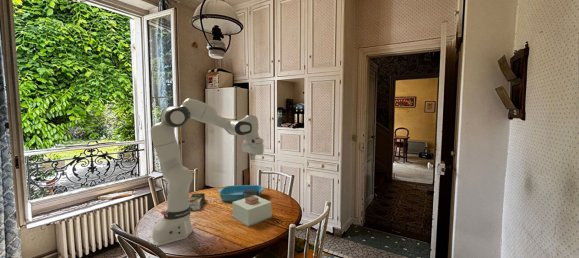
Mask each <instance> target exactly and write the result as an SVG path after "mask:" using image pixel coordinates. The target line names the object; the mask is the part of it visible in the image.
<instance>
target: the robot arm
mask: <svg viewBox="0 0 579 258" xmlns="http://www.w3.org/2000/svg"><path fill="white" fill-rule="evenodd" d="M181 103H182V104H181V105H180V106H173V105H172V106H166V107H165V108H164V109H162V111H161V113H160V118H159V121H158V122H157V123H155V124H153V125H152V126H151V127H150V136H151V137H150V138H151V141H152V144H153V146H154V149H155V152H156V154H157V157H158V160H159V161H158V162H159V165H160V171H161V173H162V177H163V179H164V180H165V181H166V182H168V185H169V188H168V194H167V195H166V201H167V203H166V204H167V205H166V206H167V207H166V208H167V209H166V210H164V209H163V210H161V212H160V214H161V215H162V216H163V218H161V219H160V221H159V222H157V223H156V224H154V226H153V229H152V234H149V235H148V237H147V241H148V243H149V242H150V243H152V244H154V245H156V246H155V247H160V246H163V245H167V244H170V243H173V242H178V241H181V240H185V239H188V237H189V235H190V234H192V232H194V228H193V225H192V222H191V210H190V206H189V199H190V197H189V196H190V195H189V194H190V187H191V183H192V182H193V179H194V175H193V173H192V171H191V170H190V169H189V168H188V167H186V166H184V165H183V163H182V158H181V154H182V153H181V149H180V147H179V146H180V145H179V143H178V141H177V138H176V135H175V128H181V127H182V126H184V125H186V123H187V122H188V121H189V120H190V119H193V120H195V121H198V122H201V123H203V124H211V125H215V126H218V127H219V128H222V129H224V130H225V131H226V132H227V133H228V134H229V135H232V136H244V137H245V138H244V139H243V142H242V143H241V144H242V147H241V150H242V152H243V153H247V154H248V156H249V157H250V158H249V160H250V161H255V160H256V156H257V155H258V156H259V155H261V156H262V155H264V152H265V151H264V144H263V143H264V139H263V138H261V136H259V120H258V116H255V115H251V114H250V115H245V116H244V117H243V118H241V119H239V120H236V119H226V117H224V116H223V117H222V116H221V115H219V114H218V112H217V110H216V108H214V107H213V106H212V105H210V104H208V103H205V102H203V101H201V100H199V99H194V98H186V99H185V100H184V101H183V102H181ZM150 243H149V244H150Z"/></svg>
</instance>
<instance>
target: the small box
mask: <svg viewBox="0 0 579 258" xmlns="http://www.w3.org/2000/svg"><path fill="white" fill-rule="evenodd" d="M254 195H256V196H258V197H259V190H245V191H244V192H243V199H244V198H247V197H251V196H254Z"/></svg>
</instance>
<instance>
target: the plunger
mask: <svg viewBox="0 0 579 258" xmlns="http://www.w3.org/2000/svg"><path fill="white" fill-rule="evenodd" d="M258 199H259V198H257V197H255V196H251V197H247V198H245V203H247V204H249V205H252V204H255V203H258Z"/></svg>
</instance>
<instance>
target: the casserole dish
mask: <svg viewBox="0 0 579 258" xmlns="http://www.w3.org/2000/svg"><path fill="white" fill-rule="evenodd" d="M245 190H259V197H261V195H262V192H264V191H265V187H264V186H262V185H259V184H245V185H244V184H243V185H239V184H238V185H227V186H224V187H222V188H219V190H218V191H217V192H218V193H219V196H220V198H221V199H220V200H222V201H224V202H234V201H238V200H241V199H243V192H244V191H245Z"/></svg>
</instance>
